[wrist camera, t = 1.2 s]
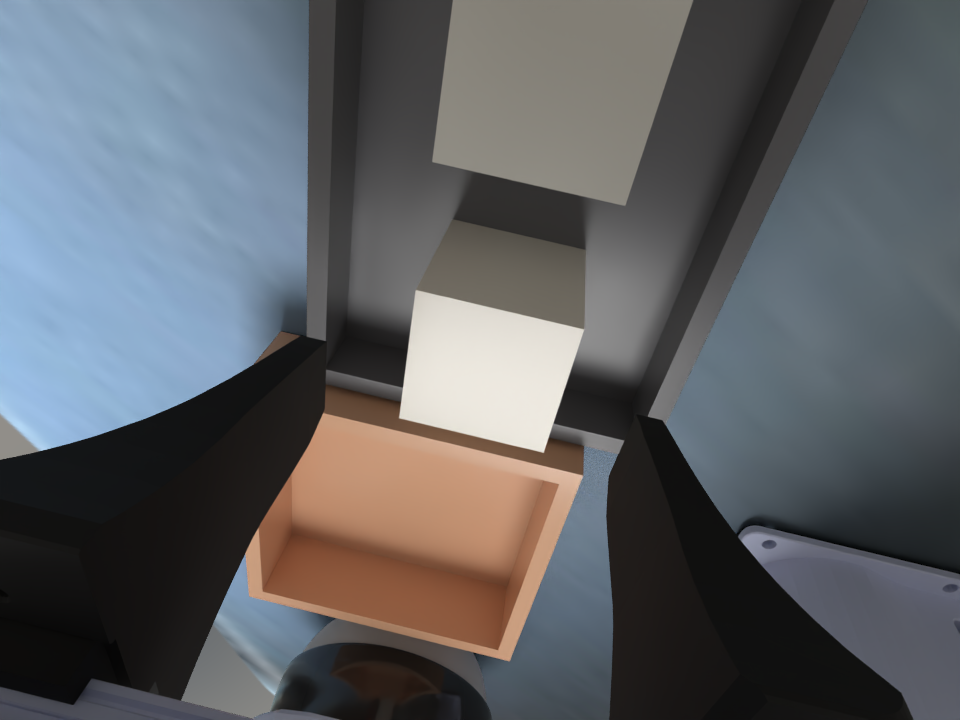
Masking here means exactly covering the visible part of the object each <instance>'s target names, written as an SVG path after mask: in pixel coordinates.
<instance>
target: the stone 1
mask: <svg viewBox="0 0 960 720" xmlns="http://www.w3.org/2000/svg"><path fill="white" fill-rule="evenodd" d="M692 2H693V0H453V4H452V11H451V19H450V27H449V35H448V43H447V50H446V58H445V66H444V74H443V81H442V89H441V97H440V105H439V112H438V120H437V128H436V136H435V144H434V151H433V159H432V162H434V163H439V164H443V165H448V166H452V167H456V168H461V169H465V170H470V171H474V172H478V173H483V174H487V175H492V176H496V177H500V178H505V179H509V180H513V181H518V182H522V183H527V184H531V185H535V186H540V187H544V188H549V189H553V190H557V191H562V192H566V193H570V194H575V195H579V196H584V197H588V198H592V199H597V200H601V201H606V202H610V203H614V204H619V205H623V206H625V205H626V202H627V199H628V196H629V193H630V190H631V187H632V184H633V181H634V178H635V175H636V172H637V169H638V166H639V163H640V160H641V157H642V154H643V151H644V148H645V145H646V142H647V138H648V135H649V132H650V129H651V126H652V123H653V120H654V117H655V114H656V111H657V108H658V105H659V102H660V99H661V96H662V93H663V90H664V87H665V84H666V81H667V78H668V75H669V72H670V69H671V66H672V63H673V60H674V57H675V54H676V51H677V48H678V45H679V42H680V39H681V36H682V33H683V30H684V27H685V24H686V21H687V18H688V15H689V11H690V8H691V5H692Z"/></svg>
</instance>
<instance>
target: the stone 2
mask: <svg viewBox="0 0 960 720" xmlns="http://www.w3.org/2000/svg"><path fill="white" fill-rule="evenodd" d="M585 275H586V250H584V249H580V248H575V247H571V246H567V245H562V244H558V243H554V242H549V241H545V240H541V239H536V238H532V237H527V236H523V235H519V234H514V233H510V232H506V231H501V230H497V229H493V228H488V227H484V226H480V225H475V224H471V223H467V222H462V221H458V220H454V219H453V220H452V221H451V223H450V225H449V227H448V229H447V231H446V233H445V235H444V237H443V239H442V241H441V243H440V244H439V246H438V248H437V250H436V252H435V254H434V256H433V258H432V260H431V262H430V264H429V265H428V267H427V269H426V271H425V273H424V275H423V277H422V279H421V281H420V283H419V285H418V286H417V288H416V291H415V299H414V307H413V315H412V322H411V330H410V338H409V346H408V353H407V361H406V369H405V377H404V385H403V392H402V400H401V408H400V416H399V418H401V419H405V420H409V421H413V422H417V423H421V424H426V425H430V426H434V427H438V428H442V429H446V430H451V431H455V432H459V433H463V434H467V435H471V436H476V437H480V438H484V439H488V440H492V441H496V442H501V443H505V444H509V445H513V446H517V447H522V448H526V449H530V450H534V451H538V452H542V453H544V450H545V447H546V444H547V441H548V438H549V435H550V432H551V429H552V426H553V423H554V420H555V417H556V414H557V411H558V408H559V405H560V402H561V399H562V396H563V393H564V389H565V386H566V383H567V380H568V377H569V374H570V371H571V368H572V365H573V362H574V359H575V356H576V353H577V350H578V347H579V344H580V341H581V338H582V335H583V332H584V323H585Z"/></svg>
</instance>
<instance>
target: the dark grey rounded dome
mask: <svg viewBox="0 0 960 720" xmlns="http://www.w3.org/2000/svg"><path fill="white" fill-rule="evenodd" d="M280 709H286V710H294V711H302V712H310V713H314V714H318V715H322V716H327V717H331V718H335V719H339V720H492V717H491V712H490V710H489V707H488V705H487V703H486V693H485V686H484V681H483V677H482V673H481V670H480V667H479V664H478V662H477V660H476V658H475V655H474V654H473V652H470V651H466V650H462V649H458V648H454V647H450V646H446V645H442V644H438V643H434V642H430V641H426V640H422V639H418V638H414V637H410V636H406V635H402V634H398V633H394V632H390V631H386V630H382V629H378V628H374V627H370V626H366V625H362V624H358V623H354V622H350V621H346V620H342V619H338V618H336V619H334V620H333V621H331V622H330V623H329V624H327V625H326V626H325V627H324V628H323V629H322V630H321V631H320V632H319V633H318V634H317V635H316V636H315V637H314V638H313V639H312V640H311V642H310V643H309V644H308V645H307V647H306V648H305V650H304V651H303V653H301V654H299V655H298V656H297V657H295V658H294V659H293V660H292V661H291V662H290V664H289V665H288V667H287V668H286V670H285V672H284V675H283V677H282V679H281V681H280V684H279V686H278V689H277V691H276V694H275V697H274V700H273V703H272V706H271V709H270V712H272V711H276V710H280Z"/></svg>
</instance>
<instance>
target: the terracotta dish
mask: <svg viewBox="0 0 960 720" xmlns="http://www.w3.org/2000/svg"><path fill="white" fill-rule="evenodd" d="M298 337H299V335H294V334H290V333H286V332H282V331H281V332H280V333H279V334H278V335H277V337H276V338H275V339H274V340H273V341H272V343H271V344H270V345H269V346H268V348H267V349H266V350H265V351H264V352H263V354H262V355H261V356H260V357H259V358H258V360H257V361H256V362H255V363H257V362H259V361H260V360H262V359H264V358H265V357H267V356H268V355H270V354H272V353H273V352H275V351H276V350H278V349H280V348H281V347H283V346H285V345H286V344H288V343H289V342H291V341H293V340H294V339H296V338H298ZM255 363H254V364H255ZM400 408H401V402H398V401H394V400H389V399H385V398H381V397H377V396H373V395H368V394H364V393H360V392H356V391H352V390H347V389H343V388H339V387H335V386H331V385H327V384H326V389H325V410H324V412H323V415H322V417H321V419H320V422H319V424H318V426H317V428H316V431H315V433H314V435H313V437H312V439H311V442H310V444H309V446H308V447H307V449H306V451H305V452H304V454H303V456H302V457H301V459H300V461H299V462H298V464H297V466H296V467H295V469H294V471H293V472H292V474H291V475H290V477H289V479H288V480H287V482H286V483H285V485H284V487H283V488H282V490H281V492H280V493H279V495H278V496H277V498H276V500H275V501H274V503H273V504H272V506H271V508H270V509H269V511H268V513H267V514H266V516H265V517H264V519H263V521H262V522H261V524H260V526H259V528H258V530H257V531H256V533H255V535H254V537H253V539H252V541H251V543H250V545H249V547H248V549H247V551H246V564H247V576H248V587H249V596H250V597H254V598H258V599H262V600H266V601H270V602H274V603H278V604H282V605H286V606H290V607H294V608H298V609H302V610H306V611H310V612H314V613H318V614H322V615H326V616H330V617H334V618H338V619H342V620H346V621H350V622H354V623H358V624H362V625H366V626H370V627H374V628H378V629H382V630H386V631H390V632H394V633H398V634H402V635H406V636H410V637H414V638H418V639H422V640H426V641H430V642H434V643H438V644H442V645H446V646H450V647H454V648H458V649H462V650H466V651H470V652H474V653H478V654H482V655H486V656H490V657H494V658H498V659H502V660H506V661H510V659H511V656H512V654H513V651H514V649H515V646H516V644H517V641H518V639H519V636H520V634H521V631H522V629H523V626H524V624H525V621H526V618H527V616H528V613H529V611H530V608H531V606H532V603H533V601H534V598H535V596H536V593H537V591H538V588H539V586H540V583H541V581H542V578H543V576H544V573H545V571H546V568H547V566H548V563H549V561H550V558H551V555H552V553H553V550H554V548H555V545H556V543H557V540H558V538H559V535H560V533H561V530H562V528H563V525H564V523H565V520H566V518H567V515H568V513H569V510H570V508H571V505H572V503H573V500H574V497H575V495H576V492H577V490H578V487H579V485H580V482H581V480H582V477H583V459H584V446H582V445H578V444H573V443H569V442H565V441H561V440H557V439H552V438H548V441H547V444H546V447H545V450H544V453H542V452H538V451H534V450H530V449H526V448H522V447H517V446H513V445H509V444H505V443H501V442H496V441H492V440H488V439H484V438H480V437H476V436H471V435H467V434H463V433H459V432H455V431H451V430H446V429H442V428H438V427H434V426H430V425H426V424H421V423H417V422H413V421H409V420H405V419H401V418H399V416H400Z"/></svg>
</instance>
